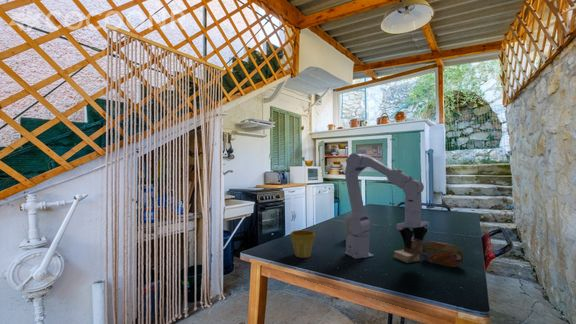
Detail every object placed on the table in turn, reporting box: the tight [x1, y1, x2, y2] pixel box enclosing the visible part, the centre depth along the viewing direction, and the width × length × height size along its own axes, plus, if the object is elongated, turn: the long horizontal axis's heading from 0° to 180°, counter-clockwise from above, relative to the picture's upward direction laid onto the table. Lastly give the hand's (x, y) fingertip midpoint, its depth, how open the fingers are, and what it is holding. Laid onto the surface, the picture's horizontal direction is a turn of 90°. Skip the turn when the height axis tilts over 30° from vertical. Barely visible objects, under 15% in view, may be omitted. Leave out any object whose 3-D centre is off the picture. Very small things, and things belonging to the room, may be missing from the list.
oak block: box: [393, 249, 421, 264], centre depth 113 cm, size 7×7×3 cm
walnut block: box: [403, 236, 424, 255], centre depth 102 cm, size 4×4×5 cm
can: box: [344, 216, 352, 240], centre depth 140 cm, size 8×8×12 cm
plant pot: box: [290, 229, 316, 259], centre depth 116 cm, size 10×10×10 cm
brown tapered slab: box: [420, 240, 465, 268], centre depth 108 cm, size 15×3×8 cm, turn 48°
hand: (412, 247), depth 102 cm, fingers closed on walnut block, 4 cm apart
